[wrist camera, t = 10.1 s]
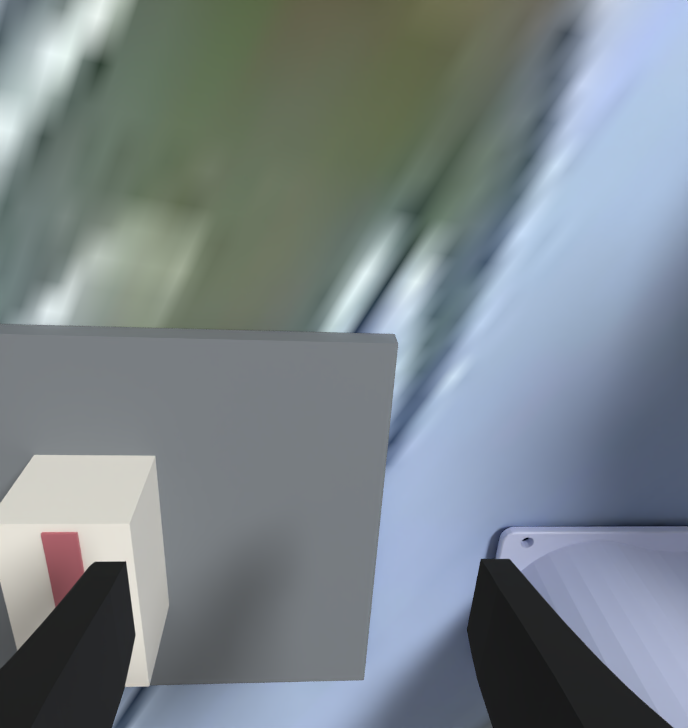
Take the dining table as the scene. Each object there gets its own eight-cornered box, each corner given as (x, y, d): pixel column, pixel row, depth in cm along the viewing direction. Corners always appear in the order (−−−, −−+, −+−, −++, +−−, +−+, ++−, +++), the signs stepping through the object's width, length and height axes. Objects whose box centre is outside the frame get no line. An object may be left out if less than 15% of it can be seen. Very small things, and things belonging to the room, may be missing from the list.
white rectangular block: (169, 605, 24) (148, 689, 20) (63, 606, 23) (25, 692, 20) (155, 455, 21) (128, 526, 17) (33, 454, 20) (-17, 526, 17)
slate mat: (394, 333, 20) (398, 343, 20) (362, 664, 27) (363, 679, 26) (-250, 317, 19) (-272, 327, 18) (-112, 674, 25) (-124, 691, 25)
